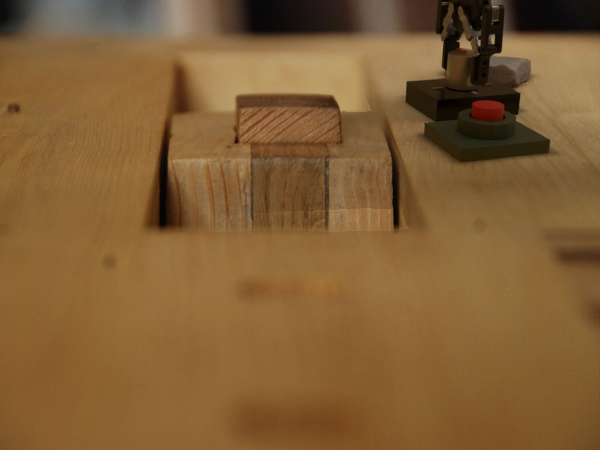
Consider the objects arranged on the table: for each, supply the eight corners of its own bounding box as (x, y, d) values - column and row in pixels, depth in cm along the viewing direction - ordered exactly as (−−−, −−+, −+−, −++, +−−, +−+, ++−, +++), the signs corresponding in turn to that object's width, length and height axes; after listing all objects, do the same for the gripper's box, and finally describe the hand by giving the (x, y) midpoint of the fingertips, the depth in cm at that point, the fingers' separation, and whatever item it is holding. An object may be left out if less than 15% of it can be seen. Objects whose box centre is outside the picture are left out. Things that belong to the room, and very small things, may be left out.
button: (493, 113, 97) (494, 99, 96) (508, 122, 93) (510, 107, 93) (465, 116, 96) (466, 101, 95) (480, 124, 93) (481, 109, 92)
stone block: (464, 77, 134) (438, 77, 126) (470, 47, 132) (444, 46, 124) (533, 91, 128) (511, 92, 119) (540, 60, 126) (519, 59, 118)
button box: (504, 132, 102) (507, 100, 100) (548, 157, 93) (552, 124, 92) (423, 139, 99) (425, 107, 97) (461, 167, 90) (464, 132, 89)
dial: (484, 89, 109) (487, 53, 107) (453, 91, 108) (456, 55, 106) (470, 81, 113) (473, 46, 111) (440, 83, 112) (443, 48, 110)
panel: (482, 95, 117) (484, 74, 116) (518, 115, 109) (521, 91, 107) (405, 102, 114) (406, 80, 113) (435, 122, 105) (437, 98, 104)
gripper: (423, -55, 108) (416, 66, 115) (473, -43, 96) (462, 92, 102) (474, -57, 110) (464, 63, 117) (530, -45, 98) (515, 87, 104)
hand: (463, 76), depth 110 cm, fingers open, 8 cm apart
